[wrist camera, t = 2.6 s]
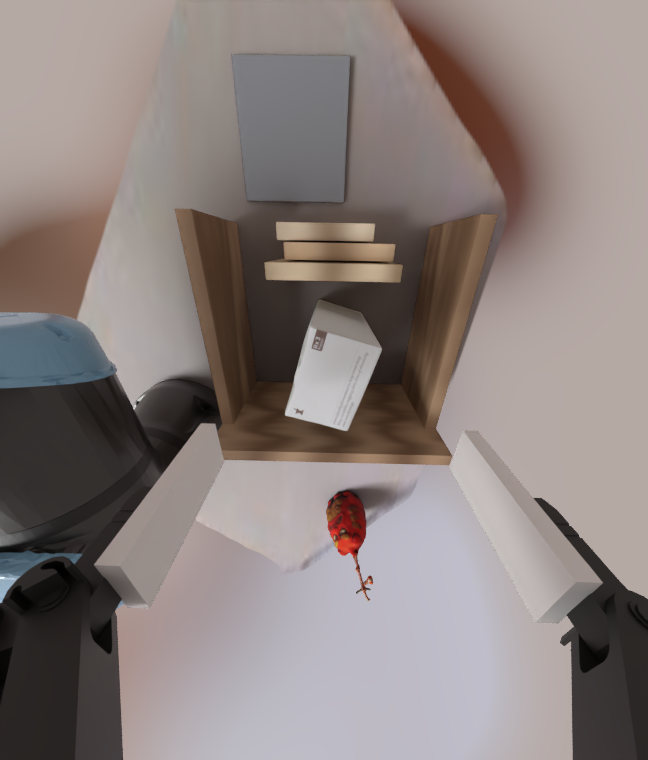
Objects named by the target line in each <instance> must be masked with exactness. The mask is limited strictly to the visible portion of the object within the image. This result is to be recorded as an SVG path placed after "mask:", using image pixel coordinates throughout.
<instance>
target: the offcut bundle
mask: <svg viewBox="0 0 648 760" xmlns="http://www.w3.org/2000/svg"><path fill="white" fill-rule="evenodd" d="M374 230H375V224H365V223H308V222H276V233H277V240H281V241H297V242H284V259H278V260H274V261H269V262H264V264H265V275H266V280H302V281H353V282H400V281H401V274H402V268H403V265H400V264H396V263H391V262H393V259H394V252H395V244H363V243H367V242H373V241H374ZM309 242H352V243H309ZM386 261H391V262H386Z"/></svg>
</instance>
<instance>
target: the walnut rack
mask: <svg viewBox="0 0 648 760" xmlns="http://www.w3.org/2000/svg"><path fill="white" fill-rule="evenodd" d="M175 213H176V217H177V222H178V226H179V231H180V235H181V240H182V244H183V249H184V253H185V258H186V262H187V267H188V271H189V276H190V280H191V285H192V289H193V294H194V298H195V303H196V307H197V312H198V316H199V321H200V325H201V330H202V334H203V339H204V343H205V348H206V352H207V357H208V361H209V366H210V370H211V375H212V379H213V384H214V388H215V393H216V397H217V402H218V406H219V411H220V415H221V420H222V425H221V427H220V429H219V430H218V432H217V433H218V438H219V442H220V446H221V450H222V454H223V458H224V460H259V461H300V462H342V463H384V464H426V465H449V464H450V461H451V458H452V455H451V453H450V451H449V450H448V448H447V447H446V445H445V443H444V441H443V440H442V438H441V436H440V435H439V433H438V432H437V430H436V426H437V423H438V420H439V416H440V413H441V409H442V406H443V402H444V399H445V396H446V392H447V389H448V385H449V382H450V378H451V375H452V371H453V368H454V365H455V361H456V358H457V354H458V351H459V347H460V344H461V341H462V337H463V334H464V330H465V327H466V323H467V320H468V316H469V313H470V310H471V306H472V303H473V299H474V296H475V292H476V289H477V286H478V282H479V279H480V275H481V272H482V268H483V265H484V261H485V258H486V255H487V251H488V248H489V244H490V241H491V237H492V234H493V231H494V227H495V224H496V220H497V217H498V214H480V215H476V216H472V217H468V218H464V219H460V220H456V221H452V222H448V223H444V224H440V225H436V226H432V227H430V230H429V235H428V241H427V246H426V251H425V257H424V262H423V268H422V273H421V278H420V284H419V289H418V294H417V300H416V305H415V311H414V316H413V321H412V327H411V332H410V337H409V343H408V348H407V353H406V359H405V364H404V370H403V375H402V380H401V385H399V384H368V385H367V388H366V390H365V392H364V395H363V397H362V399H361V402H360V404H359V406H358V408H357V411H356V413H355V415H354V417H353V420H352V422H351V424H350V427H349V429H348V431H344V430H340V429H336V428H332V427H329V426H326V425H322V424H318V423H314V422H309V421H305V420H301V419H297V418H294V417H289V416H285V410H286V407H287V403H288V400H289V397H290V394H291V391H292V387H293V383H294V382H263V381H257V378H256V370H255V362H254V354H253V346H252V338H251V330H250V323H249V315H248V307H247V299H246V291H245V283H244V275H243V267H242V260H241V252H240V244H239V236H238V228H237V223H234V222H231V221H227V220H224V219H221V218H218V217H215V216H211V215H208V214H205V213H202V212H199V211H196V210H192V209H175Z"/></svg>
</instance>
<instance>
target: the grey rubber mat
mask: <svg viewBox="0 0 648 760" xmlns="http://www.w3.org/2000/svg"><path fill="white" fill-rule="evenodd" d="M231 56H232V65H233V75H234V84H235V94H236V103H237V112H238V122H239V131H240V140H241V150H242V159H243V169H244V178H245V187H246V197H247V201H263V202H321V203H344V184H345V161H346V138H347V116H348V93H349V71H350V56H314V55H239V54H231Z"/></svg>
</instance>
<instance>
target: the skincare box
mask: <svg viewBox="0 0 648 760" xmlns="http://www.w3.org/2000/svg"><path fill="white" fill-rule="evenodd" d="M381 351H382V348H381V346H380V344H379V342H378V341H377V339H376V337H375V336H374V334H373V332H372V330H371V328H370V327H369V325H368V323H367V321H366V320H365V318H364V316H363V315H362V313H361V312H358V311H355V310H352V309H349V308H346V307H342V306H339V305H336V304H333V303H330V302H327V301H323V300H320V299H319V300H318V302H317V305H316V307H315V310H314V313H313V315H312V318H311V321H310V324H309V326H308V329H307V333H306V336H305V339H304V342H303V346H302V350H301V354H300V358H299V361H298V365H297V370H296V373H295V377H294V383H293V387H292V391H291V394H290V397H289V400H288V403H287V407H286V410H285V416H289V417H294V418H297V419H301V420H305V421H309V422H314V423H318V424H322V425H326V426H329V427H332V428H336V429H340V430H344V431H348V429H349V427H350V424H351V422H352V420H353V417H354V415H355V413H356V411H357V408H358V406H359V404H360V402H361V399H362V397H363V395H364V392H365V390H366V388H367V385H368V383H369V380H370V378H371V376H372V373H373V371H374V369H375V366H376V364H377V361H378V359H379V356H380V354H381Z"/></svg>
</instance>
